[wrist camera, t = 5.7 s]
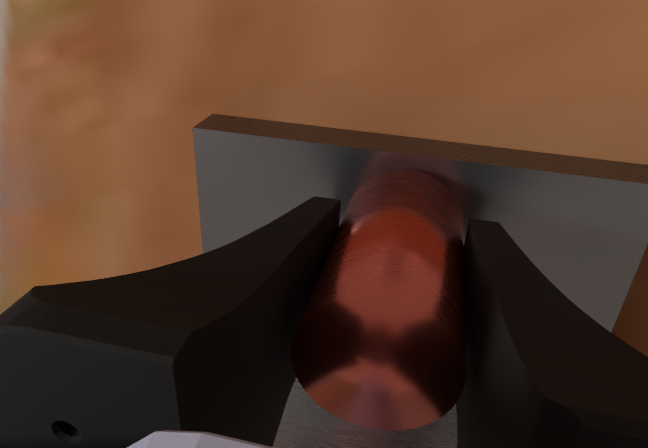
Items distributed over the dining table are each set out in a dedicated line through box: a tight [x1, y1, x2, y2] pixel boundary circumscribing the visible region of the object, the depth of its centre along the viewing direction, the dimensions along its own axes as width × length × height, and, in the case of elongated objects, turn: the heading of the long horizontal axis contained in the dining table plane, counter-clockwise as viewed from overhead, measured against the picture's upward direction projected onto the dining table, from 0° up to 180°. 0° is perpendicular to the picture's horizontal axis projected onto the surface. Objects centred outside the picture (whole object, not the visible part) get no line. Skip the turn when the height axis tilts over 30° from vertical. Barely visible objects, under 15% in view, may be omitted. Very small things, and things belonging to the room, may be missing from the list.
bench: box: [193, 114, 648, 332], centre depth 15 cm, size 16×11×6 cm
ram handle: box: [273, 169, 466, 448], centre depth 12 cm, size 8×5×5 cm, turn 177°
